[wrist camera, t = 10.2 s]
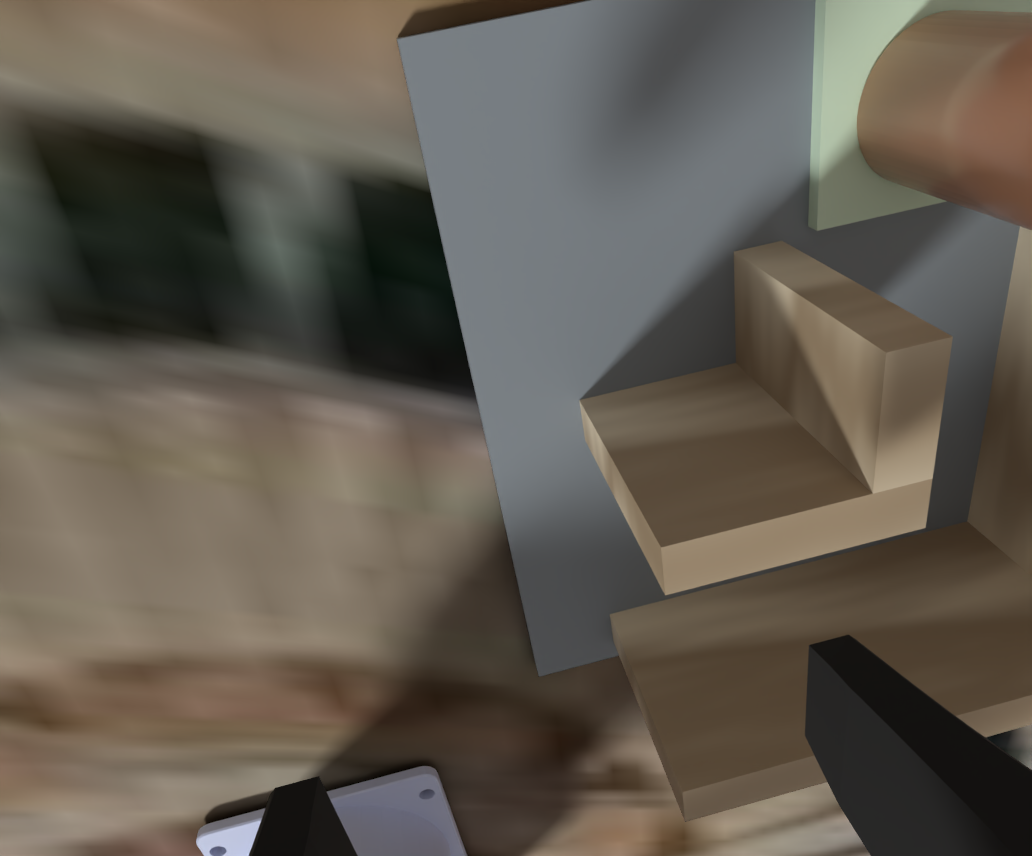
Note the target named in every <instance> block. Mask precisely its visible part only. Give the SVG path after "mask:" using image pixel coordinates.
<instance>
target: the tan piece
mask: <svg viewBox="0 0 1032 856" xmlns="http://www.w3.org/2000/svg"><path fill="white" fill-rule="evenodd" d="M734 286H735V340H736V363H733V364H729V365H725V366H721V367H716V368H712V369H708V370H704V371H700V372H695V373H691V374H687V375H683V376H679V377H674V378H670V379H666V380H662V381H658V382H653V383H649V384H645V385H641V386H637V387H632V388H628V389H624V390H620V391H616V392H611V393H607V394H603V395H599V396H595V397H590V398H586V399H582V400H579V401H580V408H581V415H582V422H583V429H584V436H585V441H586V443H587V445H588V447H589V449H590V451H591V453H592V455H593V456H594V458H595V460H596V462H597V464H598V466H599V468H600V470H601V472H602V474H603V476H604V478H605V480H606V482H607V484H608V486H609V487H610V489H611V491H612V493H613V495H614V497H615V499H616V501H617V503H618V505H619V507H620V509H621V511H622V513H623V515H624V517H625V518H626V520H627V522H628V524H629V526H630V528H631V530H632V532H633V534H634V536H635V538H636V540H637V542H638V544H639V546H640V548H641V549H642V551H643V553H644V555H645V557H646V559H647V561H648V563H649V565H650V567H651V569H652V571H653V573H654V575H655V577H656V579H657V580H658V582H659V584H660V586H661V588H662V590H663V592H664V594H665V595H669V594H673V593H677V592H681V591H684V590H688V589H692V588H696V587H700V586H704V585H708V584H711V583H715V582H719V581H723V580H727V579H731V578H735V577H738V576H742V575H746V574H750V573H754V572H758V571H762V570H765V569H769V568H773V567H777V566H781V565H785V564H789V563H792V562H796V561H800V560H804V559H808V558H812V557H816V556H819V555H823V554H827V553H831V552H835V551H839V550H843V549H846V548H850V547H854V546H858V545H862V544H866V543H870V542H873V541H877V540H881V539H885V538H889V537H893V536H897V535H900V534H904V533H908V532H912V531H916V530H920V529H924V528H926V521H927V514H928V507H929V500H930V493H931V486H932V479H933V472H934V465H935V458H936V451H937V444H938V437H939V430H940V423H941V416H942V409H943V402H944V395H945V388H946V381H947V374H948V367H949V360H950V353H951V346H952V339H953V337H952V336H951V335H949V334H947V333H945V332H944V331H942V330H940V329H938V328H936V327H935V326H933V325H931V324H929V323H928V322H926V321H924V320H922V319H920V318H919V317H917V316H915V315H913V314H912V313H910V312H908V311H906V310H904V309H903V308H901V307H899V306H897V305H896V304H894V303H892V302H890V301H888V300H887V299H885V298H883V297H881V296H880V295H878V294H876V293H874V292H872V291H871V290H869V289H867V288H865V287H864V286H862V285H860V284H858V283H856V282H855V281H853V280H851V279H849V278H847V277H846V276H844V275H842V274H840V273H839V272H837V271H835V270H833V269H831V268H830V267H828V266H826V265H824V264H823V263H821V262H819V261H817V260H815V259H814V258H812V257H810V256H808V255H807V254H805V253H803V252H801V251H799V250H798V249H796V248H794V247H792V246H791V245H789V244H787V243H785V242H783V241H778V242H774V243H770V244H765V245H761V246H756V247H752V248H748V249H743V250H739V251H734ZM610 620H611V627H612V634H613V641H614V644H615V647H616V649H617V652H618V654H619V657H620V659H621V662H622V664H623V667H624V669H625V672H626V674H627V677H628V679H629V682H630V684H631V687H632V689H633V692H634V694H635V697H636V699H637V702H638V705H639V707H640V710H641V712H642V715H643V717H644V720H645V722H646V725H647V727H648V730H649V732H650V735H651V737H652V740H653V742H654V745H655V747H656V750H657V752H658V755H659V757H660V760H661V762H662V765H663V767H664V770H665V772H666V775H667V777H668V780H669V782H670V785H671V787H672V790H673V793H674V795H675V798H676V800H677V803H678V805H679V808H680V810H681V813H682V815H683V818H684V820H685V822H686V821H690V820H694V819H697V818H701V817H704V816H708V815H711V814H715V813H718V812H722V811H725V810H729V809H733V808H736V807H740V806H743V805H747V804H750V803H754V802H757V801H761V800H764V799H768V798H772V797H775V796H779V795H782V794H786V793H789V792H793V791H796V790H800V789H804V788H807V787H811V786H814V785H818V784H821V783H825V782H827V780H826V778H825V776H824V774H823V772H822V770H821V768H820V766H819V764H818V762H817V760H816V758H815V756H814V753H813V751H812V749H811V747H810V745H809V743H808V741H807V739H806V737H805V718H806V697H807V676H808V654H809V645H811V644H815V643H818V642H822V641H826V640H830V639H833V638H837V637H841V636H845V635H850V636H852V637H853V638H855V639H856V640H858V641H859V642H860V643H861V644H863V645H864V646H865V647H866V648H868V649H869V650H870V651H872V652H873V653H874V654H875V655H877V656H878V657H879V658H881V659H882V660H883V661H884V662H886V663H887V664H888V665H889V666H891V667H892V668H893V669H895V670H896V671H897V672H898V673H900V674H901V675H902V676H904V677H905V678H906V679H907V680H909V681H910V682H911V683H913V684H914V685H915V686H917V687H918V688H919V689H920V690H922V691H923V692H924V693H926V694H927V695H928V696H930V697H931V698H932V699H934V700H935V701H936V702H938V703H939V704H940V705H942V706H943V707H944V708H946V709H947V710H948V711H950V712H951V713H952V714H954V715H955V716H956V717H958V718H959V719H960V720H962V721H963V722H964V723H966V724H967V725H969V726H970V727H971V728H973V729H974V730H976V731H977V732H978V733H980V734H981V735H983V736H984V737H988V736H992V735H995V734H999V733H1002V732H1006V731H1009V730H1013V729H1016V728H1020V727H1023V726H1027V725H1031V724H1032V230H1029V229H1026V228H1023V227H1020V229H1019V235H1018V241H1017V246H1016V252H1015V257H1014V263H1013V269H1012V274H1011V280H1010V285H1009V291H1008V297H1007V302H1006V308H1005V313H1004V319H1003V324H1002V330H1001V336H1000V341H999V347H998V352H997V358H996V364H995V369H994V375H993V380H992V386H991V392H990V397H989V403H988V408H987V414H986V420H985V425H984V431H983V436H982V442H981V448H980V453H979V459H978V464H977V470H976V476H975V481H974V487H973V492H972V498H971V504H970V509H969V515H968V520H967V522H963V523H959V524H955V525H952V526H948V527H944V528H940V529H936V530H932V531H928V532H925V533H921V534H917V535H913V536H909V537H905V538H901V539H898V540H894V541H890V542H886V543H882V544H878V545H875V546H871V547H867V548H863V549H859V550H855V551H851V552H848V553H844V554H840V555H836V556H832V557H828V558H824V559H821V560H817V561H813V562H809V563H805V564H801V565H798V566H794V567H790V568H786V569H782V570H778V571H774V572H771V573H767V574H763V575H759V576H755V577H751V578H747V579H744V580H740V581H736V582H732V583H728V584H724V585H720V586H717V587H713V588H709V589H705V590H701V591H697V592H694V593H690V594H686V595H682V596H678V597H674V598H670V599H667V600H663V601H659V602H655V603H651V604H647V605H643V606H640V607H636V608H632V609H628V610H624V611H620V612H617V613H613V614H610Z"/></svg>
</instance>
